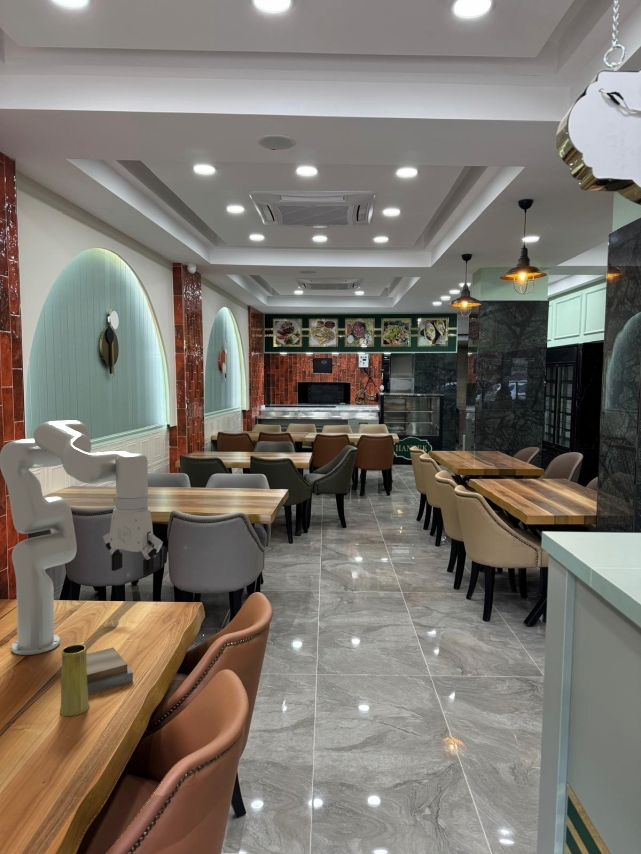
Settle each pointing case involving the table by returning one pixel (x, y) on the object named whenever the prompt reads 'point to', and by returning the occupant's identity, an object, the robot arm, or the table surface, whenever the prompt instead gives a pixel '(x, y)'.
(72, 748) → the table surface
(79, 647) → the vase
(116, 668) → the stand
